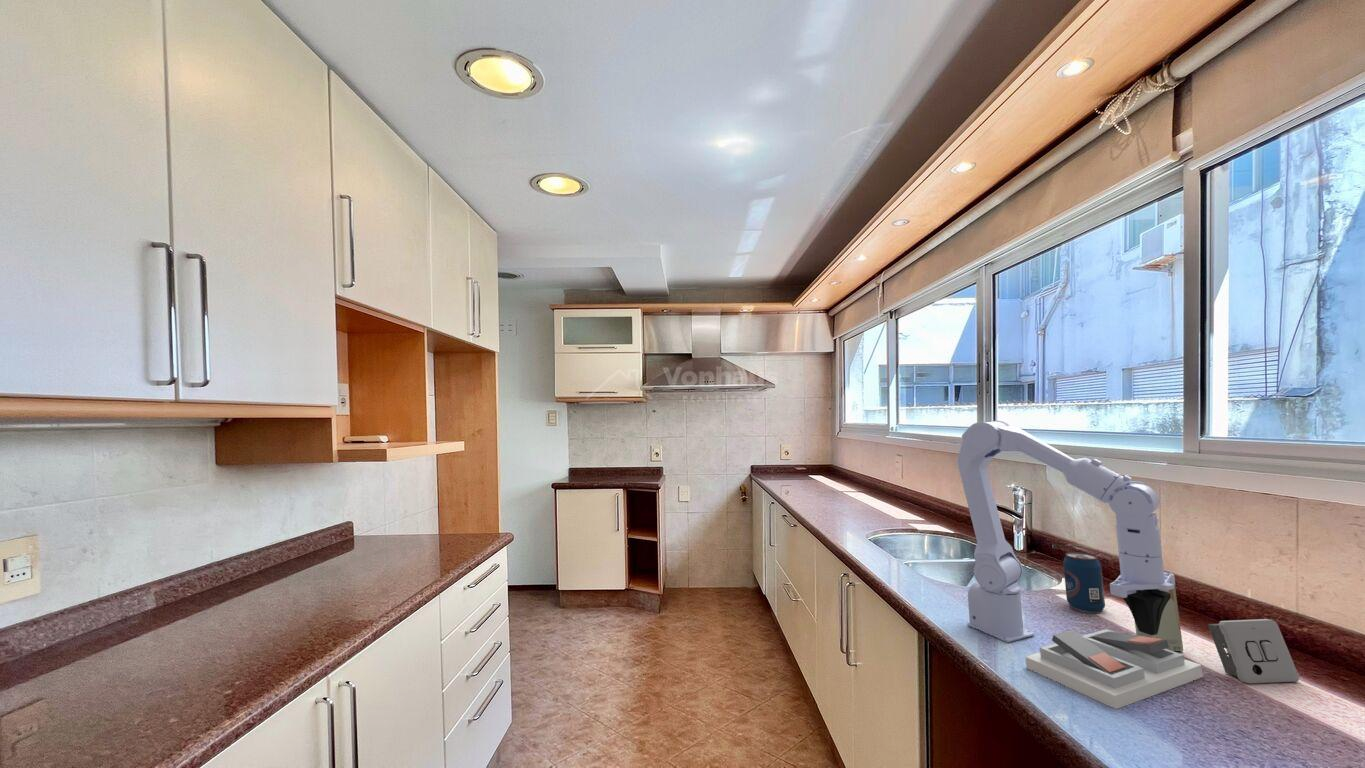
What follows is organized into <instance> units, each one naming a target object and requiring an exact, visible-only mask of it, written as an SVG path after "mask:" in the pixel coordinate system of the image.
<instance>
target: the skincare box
mask: <svg viewBox="0 0 1365 768" xmlns="http://www.w3.org/2000/svg"><path fill="white" fill-rule="evenodd" d="M1159 590H1161V591H1165V592H1168V593H1170V596H1171V598H1170V600H1169V601H1168V602H1167V604H1166V606H1165V608H1164V610H1163V613H1162V616H1161V620H1160V625H1159V630H1158V633H1157V634H1156V635H1149V634H1146V633H1143V632H1140V631H1139V630H1138V628H1137V625H1136V623H1135V622H1134V626H1135V635H1137V636H1144V637H1151V638H1158V639H1164V640H1167V643H1168V646H1169V648H1166V649H1168V650H1171V651H1174V652H1184V645H1183V638H1182V637H1183V636H1182V629H1181V622H1180V614H1179V608H1178V599H1177V593H1176V591H1177V590H1176V584H1175V585H1174V589H1170V590H1165V589H1159Z"/></svg>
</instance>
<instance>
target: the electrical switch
mask: <svg viewBox="0 0 1365 768" xmlns="http://www.w3.org/2000/svg"><path fill="white" fill-rule="evenodd" d="M1207 626H1208V629H1209V633H1210V635H1211V637H1212V639H1213V643H1214V646H1215V648H1216V651H1217V653H1218V656H1219V659H1220V661H1221V664H1222V666H1223V669H1224V673H1225V674H1227V673H1228V674H1227V675H1232V676H1235V677H1237V678H1238V679H1239V680H1240V681H1241V682H1242V683H1243V682H1245V683H1244V684H1264V683H1265V684H1267V683H1287V682H1288V683H1290V682H1299V681H1300V675H1299V672H1298V669H1297V668H1296V665H1295V663H1294V660H1293V658H1292V656H1291V654H1290V651H1289V649H1288V646H1287V644H1286V642H1285V639H1284V636H1283V634H1282V632H1281V630H1280V627H1279V625H1278V622H1277V621H1275V620H1273V619H1268V618H1259V619H1236V620H1235V619H1233V620H1220V621H1219V623H1208V624H1207ZM1225 649H1226V650H1225Z"/></svg>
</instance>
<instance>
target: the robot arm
mask: <svg viewBox="0 0 1365 768" xmlns="http://www.w3.org/2000/svg"><path fill="white" fill-rule="evenodd" d="M961 439H962V443H961V446H960V449H959V453H958V454H957V455H958V456H957V459H956V461H957V463H956V464H957V467H958V471H959V474H960V478H961V479H960V480H961V483H962V487H963V490H964V491H963V492H964V494H965V495H964V496H965V499H966V504H967V506H968V510H969V515H970V518H971V522H972V527H973V531H974V535H975V539H976V546H975V549H974V552H973V557H974V562H975V563H974V567H973V576H974V578H975V582H973V583H971V585H970V586H969V589H968V592H967V602H968V617H969V622H966V624H967V626H968V625H969V626H968V627H970V626H971V627H970V628H973V629H975V628H976V630H977V629H979V630H978V631H980V630H981V631H980V632H982V631H983V632H982V633H984V632H985V633H984V634H987V633H988V634H987V635H989V634H990V636H992V635H993V636H992V637H994V636H995V637H994V638H996V637H997V638H996V639H999V640H1001V641H1004V642H1006V643H1010V642H1015V641H1018V640H1022V639H1025V638H1029V637H1033V636H1035V632H1034V631H1030V630H1028V629H1026V628H1024V621H1023V610H1022V596H1021V587H1020V585H1019V582H1018V581H1019V580H1020V579H1021V578H1023V574H1024V568H1023V565H1022V563H1021V560H1019V558H1018V557H1017V555H1015V554H1016V553H1014V552H1015V551H1014V550H1013V549H1014V548H1013V546H1012V545H1011V544H1010V543H1009V542H1008V541H1007V540H1006V537H1005V534H1004V529H1003V526H1002V522H1001V518H1000V515H999V510H998V507H997V503H996V499H995V495H994V491H993V487H992V483H991V479H990V476H989V472H988V468H987V466H988V464H989V463H990V462H991V461H992V460H993V459H994V458H995V457H996V455H998V454H999V453H1001V452H1018V453H1019V452H1020V453H1022V454H1025V455H1027V456H1028V457H1031V458H1033V459H1034V460H1037V461H1039V462H1041V463H1043V464H1044V465H1047V466H1049V467H1051V468H1052V469H1055V470H1057V471H1059V472H1061V473H1062V474H1063V475H1064V477H1065V481H1066V482H1067V484H1069V485H1071V486H1073V487H1075V488H1077V489H1079V490H1080V491H1082V492H1084V493H1086V494H1087V495H1089V496H1091V497H1093V498H1094V499H1097V500H1098V501H1101V502H1102V503H1104V504H1108V505H1109V507H1110V509H1111V510H1112V512H1114V514H1115V521H1116V525H1115V529H1116V541H1117V549H1118V561H1119V571H1120V575H1118V577H1116V579H1115V580H1114V581H1113V582H1110V583H1109V589H1110V595H1112V596H1116V597H1119V598H1122V599H1123V601H1124V602H1125V603H1126V605H1127V607H1128V609H1129V610H1130V612H1131V615H1132V617H1133V620H1134V624H1135V623H1136V625H1137V628H1138V630H1139V631H1140V632H1143V633H1146V634H1149V635H1156V634H1157V633H1158V630H1159V625H1160V620H1161V616H1162V613H1163V610H1164V608H1165V606H1166V604H1167V602H1168V601H1169V600H1170V598H1171V596H1170V593H1168V592H1165V591H1161V590H1159V589H1165V590H1170V589H1174V585H1175V586H1176V578H1175V574H1173V573H1171V572H1167V571H1166V572H1165V570H1164V569H1165V568H1164V561H1163V560H1164V559H1163V551H1162V540H1161V533H1160V528H1159V526H1158V525H1159V520H1158V515H1157V513H1156V510H1158V508H1159V505H1160V498H1159V496H1158V494H1157V492H1156V490H1155V489H1153V488H1152V487H1150V486H1148V484H1146V483H1144V482H1143V481H1132V479H1133V478H1132V477H1130V476H1129V475H1126V474H1125V475H1124V476H1123V475H1121V474H1120V473H1117V472H1115V471H1113V470H1111V469H1109V468H1107V467H1105V466H1103V465H1102V464H1103V462H1102V461H1101V460H1098V459H1097V458H1093V459H1090V458H1087V457H1083V458H1082V457H1081V458H1075V459H1074V457H1073V458H1072V457H1071V456H1069V454H1065V452H1062V451H1060V450H1059V449H1057V448H1055V447H1053V446H1052V445H1050V444H1049V443H1046V442H1044V441H1043V440H1041V439H1039V438H1037V437H1035V436H1034V435H1032V434H1030V433H1029V432H1027V431H1025V430H1023V429H1021V428H1020V427H1017V426H1014V425H1010V424H1008V423H1007V422H1005V421H1004V420H1003V421H1002V420H993V421H987V422H985V421H979V422H975V423H973V424H971V425H970V426H969V427H968V428H967V429H966V430H965V431H964V433H962V434H961Z"/></svg>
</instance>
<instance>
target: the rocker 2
mask: <svg viewBox="0 0 1365 768" xmlns="http://www.w3.org/2000/svg"><path fill="white" fill-rule="evenodd" d="M1092 637H1093V639H1094V640H1097V641H1100V642H1102V643H1105V644H1108V645H1111V646H1114V647H1118V648H1124V649H1130V650H1136V651H1141V652H1147V653H1154V652H1157V651H1160V650H1163V649H1166V648H1169V646H1168V643H1167V640H1164V639H1158V638H1151V637H1144V636H1137V635H1136V634H1129V633H1122V632H1118V631H1117V632H1116V631H1114V632H1110V631H1109V632H1106V633H1102V634H1099V635H1095V636H1092Z"/></svg>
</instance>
